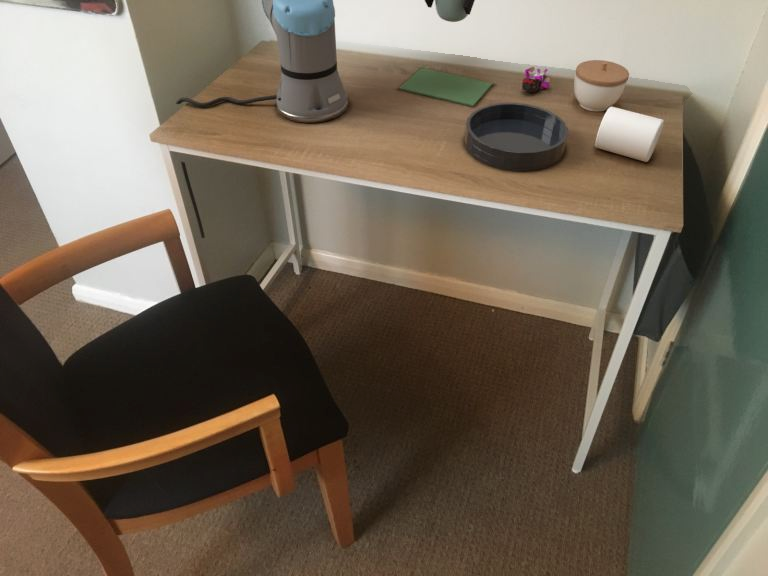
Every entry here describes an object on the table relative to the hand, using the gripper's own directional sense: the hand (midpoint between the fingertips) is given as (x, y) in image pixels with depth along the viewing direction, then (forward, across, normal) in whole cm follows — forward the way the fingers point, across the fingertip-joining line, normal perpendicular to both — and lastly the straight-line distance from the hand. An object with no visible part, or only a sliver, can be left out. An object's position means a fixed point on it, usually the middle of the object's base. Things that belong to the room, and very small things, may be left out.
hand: (447, 7), depth 123 cm
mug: (+16, -42, -10) cm, 46 cm away
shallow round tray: (+23, -22, -4) cm, 32 cm away
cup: (0, 0, -5) cm, 5 cm away
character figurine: (+4, -18, -23) cm, 29 cm away
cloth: (+11, 0, -16) cm, 19 cm away
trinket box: (+6, -32, -21) cm, 38 cm away
